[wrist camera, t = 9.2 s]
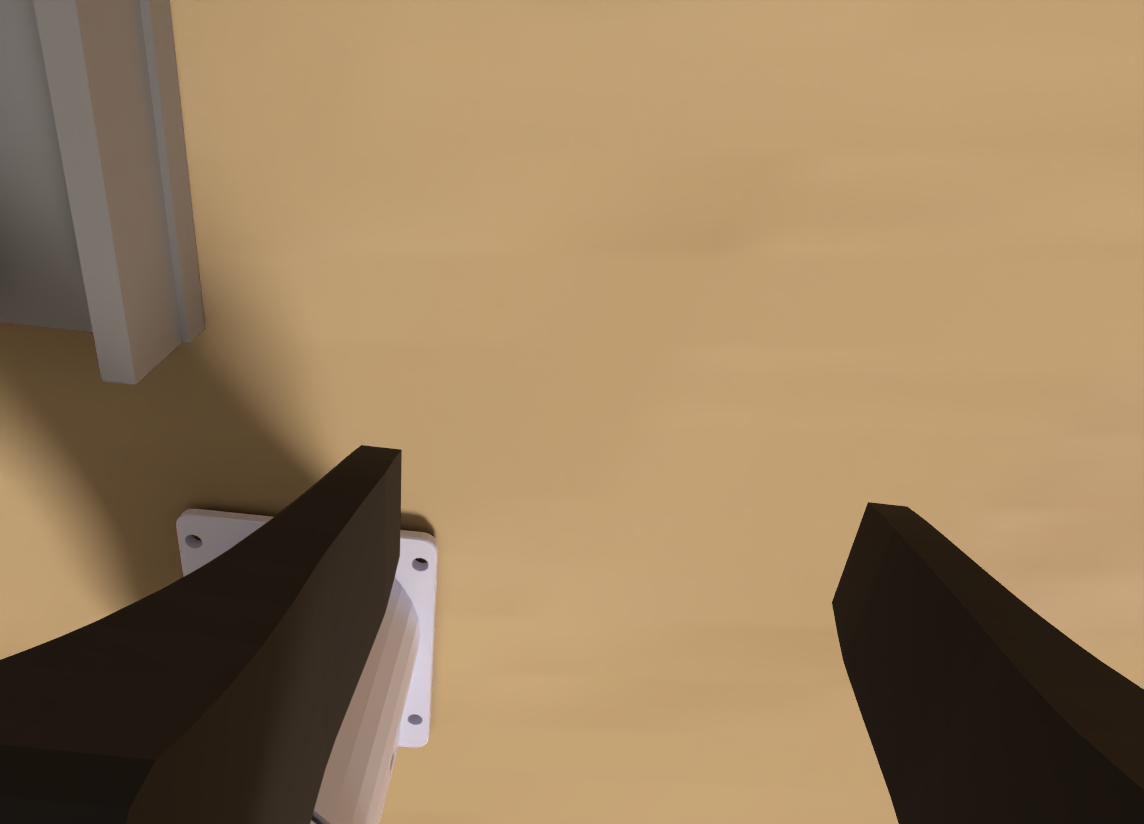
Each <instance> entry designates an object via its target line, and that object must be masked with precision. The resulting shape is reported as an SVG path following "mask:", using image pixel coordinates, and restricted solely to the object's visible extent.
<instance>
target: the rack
mask: <svg viewBox="0 0 1144 824" xmlns="http://www.w3.org/2000/svg"><path fill="white" fill-rule="evenodd" d="M0 322H2V323H11V324H20V325H29V326H38V327H47V328H56V329H65V330H74V331H83V332H92V333H93V336H94V341H95V347H96V352H97V358H98V364H99V369H100V375H101V380H102V381H105V382H114V383H123V384H133V385H136V384H137V383H138V382H140V381H141V380H142V379H143V378H144V377H145V376H146V375H147V374H148V373H149V372H150V371H151V370H153V369H154V368H155V367H156V366H157V365H158V364H159V363H160V362H161V361H162V360H163V359H164V358H166V357H167V356H168V355H169V354H170V353H171V352H172V351H173V350H174V349H175V348H176V347H177V346H179V345H180V344H181V343H182V342H183V343H190V342H191V341H192V340H194V339H195V338H196V337H197V336H198V335H199V334H200V333H201V332H202V331H203V330H204V329H205V323H204V314H203V304H202V295H201V286H200V277H199V267H198V258H197V249H196V240H195V230H194V221H193V212H192V203H191V194H190V184H189V175H188V166H187V157H186V147H185V138H184V129H183V120H182V110H181V101H180V92H179V83H178V73H177V64H176V55H175V46H174V37H173V27H172V18H171V9H170V0H0Z"/></svg>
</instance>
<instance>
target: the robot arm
mask: <svg viewBox="0 0 1144 824" xmlns="http://www.w3.org/2000/svg"><path fill="white" fill-rule="evenodd" d="M400 519H401V450H398V449H390V448H381V447H372V446H363V445H361V446H360V447H359V448H357V449H356V450H355V451H353V452H352V453H351V454H350V455H348V456H347V457H346V458H345V459H344V460H343V461H341V462H340V463H339V464H338V465H337V466H336V467H334V468H333V469H332V470H331V471H330V472H329V473H327V474H326V475H325V476H324V477H323V478H322V479H320V480H319V481H318V482H317V483H316V484H314V485H313V486H312V487H311V488H310V489H308V490H307V491H306V492H305V493H304V494H302V495H301V496H300V497H299V498H297V499H296V500H295V501H294V502H292V503H291V504H290V505H289V506H287V507H286V508H285V509H284V510H282V511H281V512H280V513H278V514H277V515H276V516H275V517H271V516H262V515H252V514H242V513H232V512H223V511H213V510H203V509H188V510H186V511H184V512H183V513H182V514H181V516H180V517H179V518H178V520H177V521H176V529H177V536H178V543H179V550H180V557H181V564H182V571H183V578H181V579H179V580H178V581H176V582H174V583H172V584H170V585H169V586H167V587H165V588H163V589H161V590H159V591H157V592H155V593H153V594H151V595H149V596H147V597H145V598H143V599H141V600H139V601H137V602H135V603H133V604H131V605H129V606H127V607H125V608H123V609H121V610H119V611H117V612H115V613H112V614H110V615H108V616H106V617H104V618H102V619H100V620H98V621H96V622H94V623H91V624H89V625H87V626H85V627H82V628H80V629H77V630H75V631H73V632H70V633H68V634H66V635H63V636H61V637H59V638H56V639H54V640H51V641H49V642H46V643H44V644H41V645H38V646H36V647H33V648H31V649H28V650H26V651H23V652H20V653H18V654H15V655H13V656H10V657H7V658H4V659H2V660H0V824H380V820H381V816H382V812H383V808H384V804H385V799H386V795H387V791H388V787H389V783H390V779H391V775H392V771H393V767H394V763H395V759H396V754H397V750H398V746H404V747H421V746H424V745H425V744H426V743H427V742H428V739H429V734H430V720H431V699H432V677H433V655H434V633H435V611H436V590H437V568H438V542H437V540H436V539H435V537H433V536H432V535H430V534H428V533H424V532H417V531H407V530H400ZM191 535H196V536H198V537H199V538H200V539H201V541H200V540H196V539H194V538H193V537H192V536H191ZM416 558H423V559H425V560H426V561H427V563H420V562H418V561H416V560H415V559H416ZM832 605H833V610H834V616H835V622H836V627H837V633H838V638H839V642H840V647H841V652H842V656H843V661H844V664H845V667H846V670H847V673H848V676H849V679H850V682H851V685H852V688H853V691H854V694H855V697H856V700H857V703H858V706H859V709H860V711H861V714H862V717H863V720H864V723H865V725H866V728H867V731H868V734H869V737H870V740H871V742H872V745H873V748H874V751H875V754H876V757H877V759H878V762H879V765H880V768H881V771H882V774H883V776H884V779H885V782H886V785H887V788H888V790H889V793H890V796H891V800H892V803H893V806H894V809H895V813H896V816H897V819H898V823H899V824H1144V689H1142V688H1140V687H1139V686H1137V685H1136V684H1134V683H1133V682H1131V681H1130V680H1128V679H1127V678H1125V677H1124V676H1122V675H1121V674H1119V673H1118V672H1116V671H1115V670H1113V669H1112V668H1110V667H1109V666H1107V665H1106V664H1104V663H1103V662H1101V661H1100V660H1099V659H1097V658H1096V657H1094V656H1093V655H1092V654H1090V653H1089V652H1087V651H1086V650H1085V649H1083V648H1082V647H1080V646H1079V645H1078V644H1076V643H1075V642H1074V641H1072V640H1071V639H1070V638H1068V637H1067V636H1066V635H1064V634H1063V633H1062V632H1060V631H1059V630H1058V629H1057V628H1055V627H1054V626H1053V625H1051V624H1050V623H1049V622H1047V621H1046V620H1045V619H1043V618H1042V617H1041V616H1039V615H1038V614H1037V613H1036V612H1034V611H1033V610H1032V609H1031V608H1029V607H1028V606H1027V605H1026V604H1024V603H1023V602H1022V601H1021V600H1019V599H1018V598H1017V597H1016V596H1015V595H1013V594H1012V593H1011V592H1010V591H1008V590H1007V589H1006V588H1005V587H1004V586H1002V585H1001V584H1000V583H999V582H998V581H996V580H995V579H994V578H993V577H992V576H991V575H989V574H988V573H987V572H986V571H985V570H983V569H982V568H981V567H980V566H979V565H978V564H976V563H975V562H974V561H973V560H972V559H971V558H969V557H968V556H967V555H966V554H965V553H964V552H962V551H961V550H960V549H959V548H958V547H957V546H955V545H954V544H953V543H952V542H951V541H949V540H948V539H947V538H946V537H945V536H944V535H942V534H941V533H940V532H939V531H938V530H936V529H935V528H934V527H933V526H932V525H930V524H929V523H928V522H927V521H925V520H924V519H923V518H922V517H920V516H919V515H918V514H916V513H915V512H914V511H912V510H911V509H910V508H908V507H905V506H896V505H887V504H878V503H869V502H868V504H867V507H866V510H865V512H864V515H863V518H862V521H861V523H860V526H859V529H858V532H857V535H856V537H855V540H854V543H853V546H852V548H851V551H850V554H849V557H848V560H847V562H846V565H845V568H844V571H843V573H842V576H841V579H840V582H839V585H838V587H837V590H836V593H835V596H834V598H833V601H832ZM413 714H416V715H419V716H416V715H413Z"/></svg>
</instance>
